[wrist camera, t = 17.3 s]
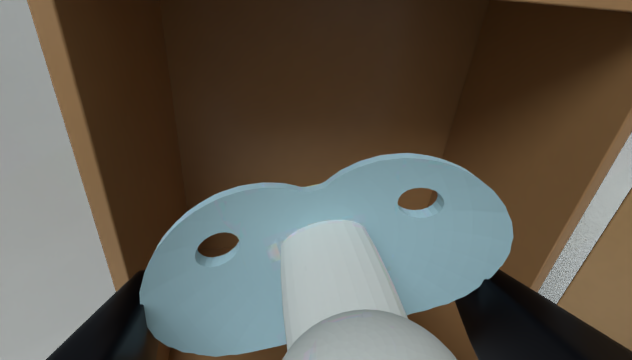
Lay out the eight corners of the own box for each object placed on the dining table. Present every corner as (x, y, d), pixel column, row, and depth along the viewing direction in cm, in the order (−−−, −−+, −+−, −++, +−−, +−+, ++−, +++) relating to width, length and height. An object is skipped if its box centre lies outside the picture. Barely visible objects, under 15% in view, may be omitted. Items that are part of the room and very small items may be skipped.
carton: (496, -15, 13) (712, -3, 7) (419, 240, 20) (496, 363, 14) (142, -50, 11) (1, -78, 5) (186, 250, 18) (149, 403, 11)
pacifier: (446, 281, 11) (458, 109, 8) (619, 566, 6) (882, 414, 3) (222, 336, 11) (136, 181, 7) (197, 688, 6) (-127, 695, 2)
